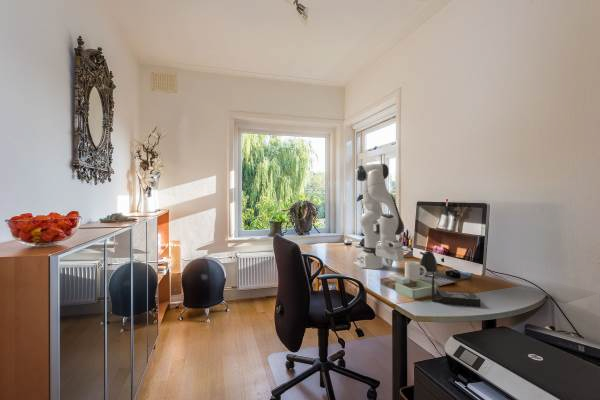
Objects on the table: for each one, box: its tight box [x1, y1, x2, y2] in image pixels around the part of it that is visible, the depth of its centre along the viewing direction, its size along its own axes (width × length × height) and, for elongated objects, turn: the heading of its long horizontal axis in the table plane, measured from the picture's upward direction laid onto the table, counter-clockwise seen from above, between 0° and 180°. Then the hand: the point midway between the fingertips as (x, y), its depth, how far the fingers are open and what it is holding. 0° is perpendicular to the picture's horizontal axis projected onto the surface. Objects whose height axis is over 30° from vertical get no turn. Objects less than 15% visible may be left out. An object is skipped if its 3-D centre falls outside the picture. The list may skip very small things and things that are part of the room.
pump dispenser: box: [419, 250, 438, 276], centre depth 181 cm, size 10×10×15 cm
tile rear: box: [388, 273, 402, 281], centre depth 163 cm, size 5×5×2 cm
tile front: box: [396, 275, 410, 284], centre depth 158 cm, size 5×5×2 cm
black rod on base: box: [431, 267, 481, 308], centre depth 138 cm, size 20×14×17 cm
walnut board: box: [379, 277, 417, 291], centre depth 161 cm, size 13×14×3 cm
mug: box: [404, 260, 426, 282], centre depth 171 cm, size 12×8×10 cm
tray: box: [394, 279, 438, 301], centre depth 149 cm, size 12×16×5 cm
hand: (389, 266), depth 167 cm, fingers closed
